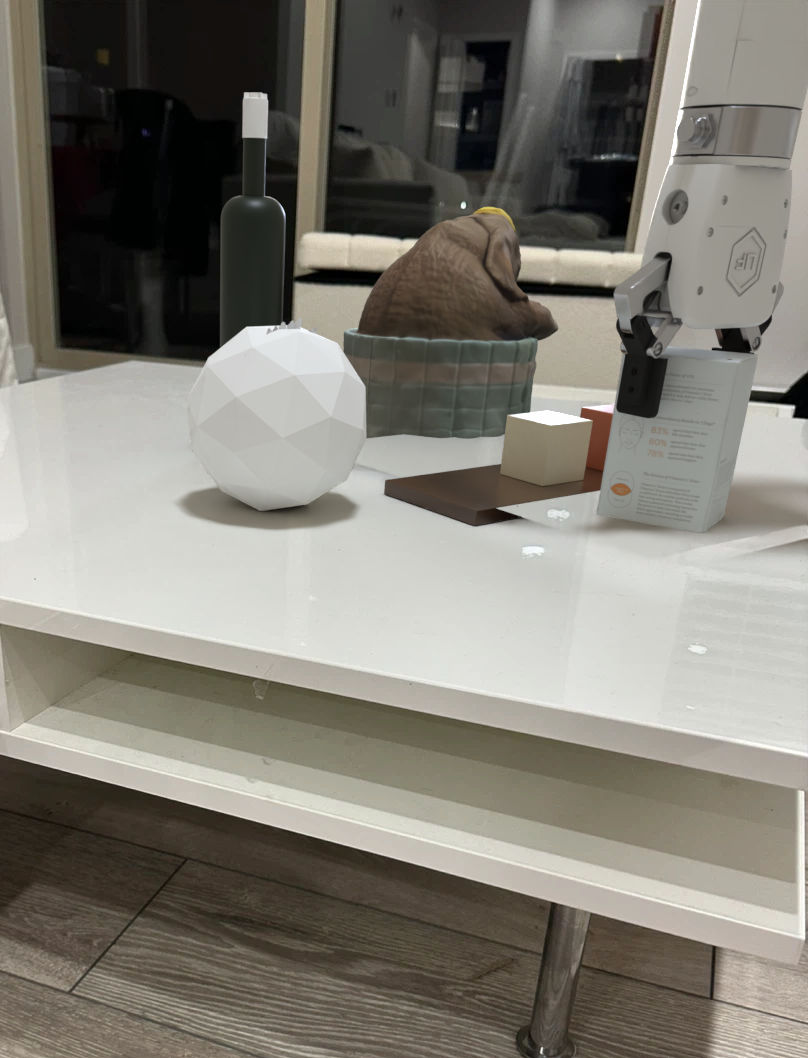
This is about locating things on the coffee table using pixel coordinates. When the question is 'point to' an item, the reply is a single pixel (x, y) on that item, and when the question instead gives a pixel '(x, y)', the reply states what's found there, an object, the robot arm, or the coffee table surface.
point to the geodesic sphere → (277, 416)
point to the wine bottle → (252, 237)
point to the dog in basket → (450, 334)
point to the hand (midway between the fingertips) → (679, 410)
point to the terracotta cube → (598, 433)
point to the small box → (680, 443)
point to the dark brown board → (481, 492)
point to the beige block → (545, 447)
